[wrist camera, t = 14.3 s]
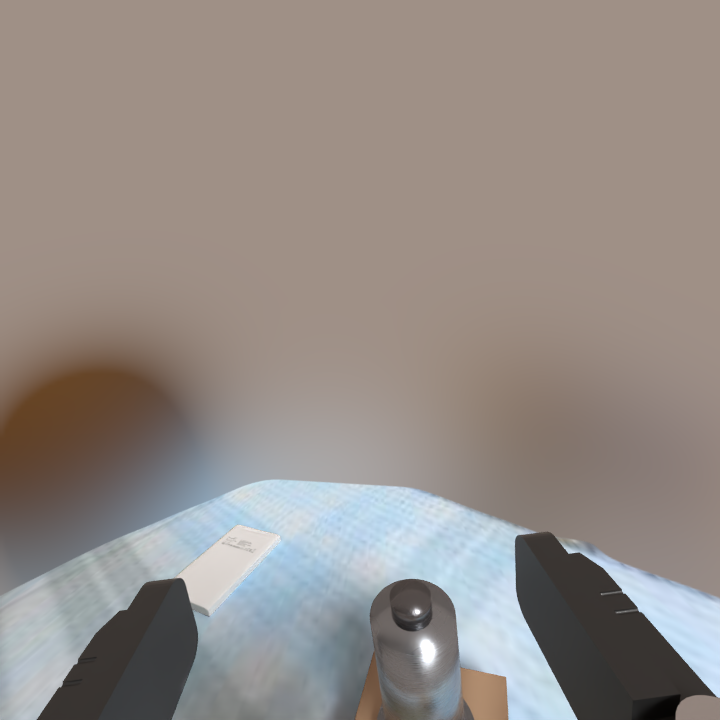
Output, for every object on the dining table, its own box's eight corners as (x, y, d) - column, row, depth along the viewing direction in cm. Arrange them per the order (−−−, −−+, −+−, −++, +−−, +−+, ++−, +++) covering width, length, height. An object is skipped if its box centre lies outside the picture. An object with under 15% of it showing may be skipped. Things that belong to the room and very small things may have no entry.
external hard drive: (162, 600, 45) (237, 532, 55) (210, 621, 41) (282, 544, 51) (158, 588, 44) (235, 522, 55) (207, 609, 40) (279, 534, 51)
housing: (365, 788, 22) (339, 635, 20) (390, 678, 28) (372, 550, 26) (477, 826, 20) (464, 661, 18) (479, 699, 26) (469, 561, 24)
